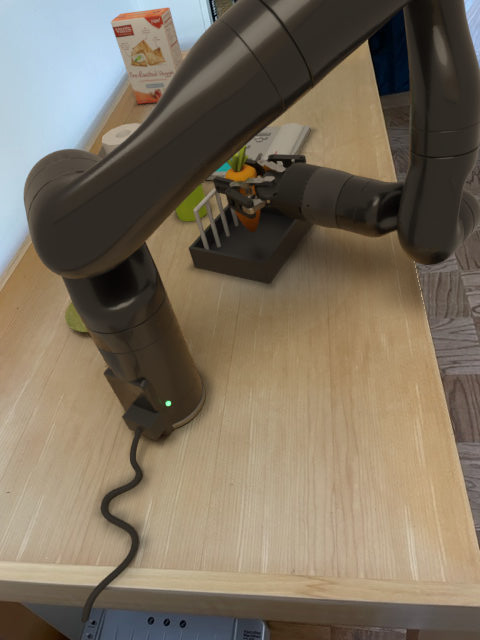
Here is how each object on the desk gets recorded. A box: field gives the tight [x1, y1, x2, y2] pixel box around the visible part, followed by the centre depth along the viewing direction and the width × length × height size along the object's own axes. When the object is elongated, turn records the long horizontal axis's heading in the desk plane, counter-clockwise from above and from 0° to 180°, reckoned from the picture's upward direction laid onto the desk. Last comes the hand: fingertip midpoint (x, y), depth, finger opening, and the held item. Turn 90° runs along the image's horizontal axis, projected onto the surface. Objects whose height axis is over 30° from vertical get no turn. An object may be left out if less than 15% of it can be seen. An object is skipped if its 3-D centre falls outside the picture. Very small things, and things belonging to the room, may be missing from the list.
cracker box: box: [110, 7, 184, 105], centre depth 136 cm, size 14×6×21 cm, turn 73°
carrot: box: [225, 145, 260, 233], centre depth 81 cm, size 5×5×15 cm
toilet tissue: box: [96, 122, 142, 159], centre depth 113 cm, size 9×13×9 cm
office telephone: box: [205, 122, 312, 181], centre depth 111 cm, size 23×3×20 cm
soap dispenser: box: [175, 183, 208, 223], centre depth 92 cm, size 6×7×20 cm
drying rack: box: [188, 177, 313, 285], centre depth 85 cm, size 16×14×10 cm
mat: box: [64, 301, 89, 333], centre depth 83 cm, size 11×11×2 cm
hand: (227, 174), depth 81 cm, fingers closed on carrot, 5 cm apart
